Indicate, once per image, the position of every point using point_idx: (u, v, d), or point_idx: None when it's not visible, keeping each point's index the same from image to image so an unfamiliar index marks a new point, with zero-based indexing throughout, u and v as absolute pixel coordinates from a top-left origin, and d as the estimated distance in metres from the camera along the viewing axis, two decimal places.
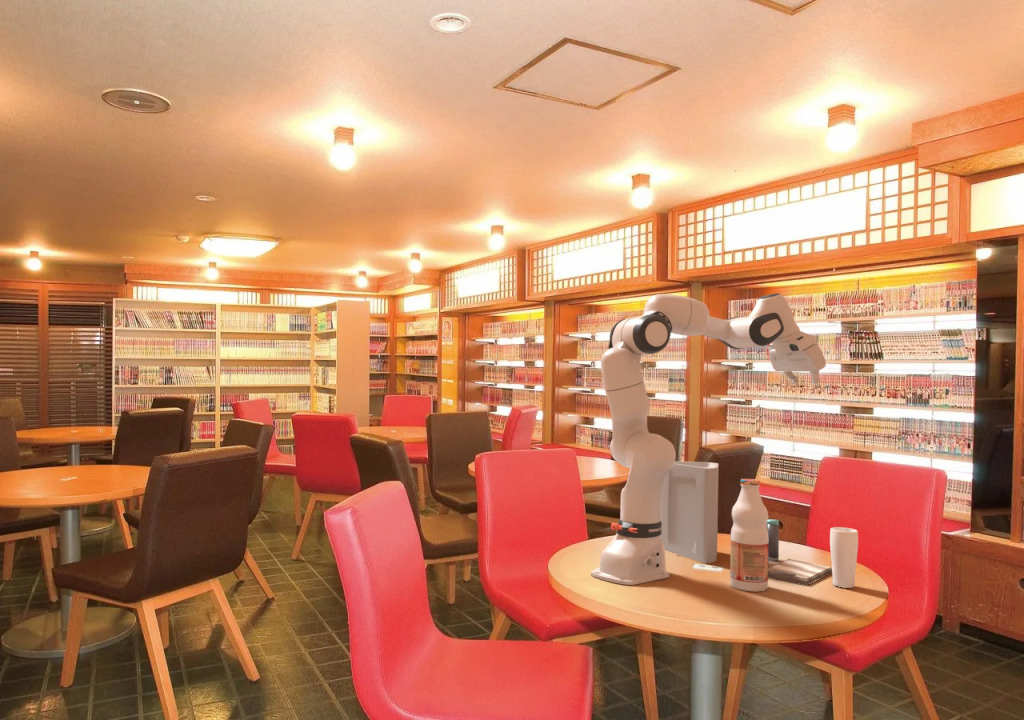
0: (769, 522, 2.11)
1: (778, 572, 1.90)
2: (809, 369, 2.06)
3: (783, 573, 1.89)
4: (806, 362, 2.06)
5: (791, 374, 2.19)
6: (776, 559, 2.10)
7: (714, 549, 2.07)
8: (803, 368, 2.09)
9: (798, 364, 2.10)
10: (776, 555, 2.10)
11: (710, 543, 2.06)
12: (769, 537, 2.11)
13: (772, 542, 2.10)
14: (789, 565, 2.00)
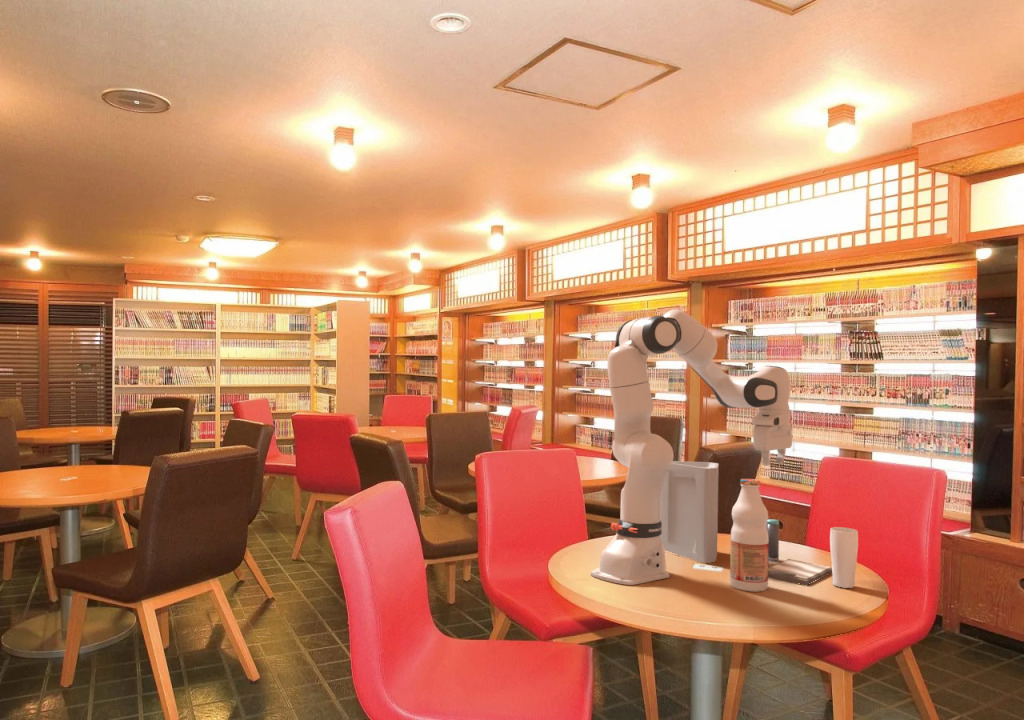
0: (769, 522, 2.11)
1: (778, 572, 1.90)
2: None
3: (783, 573, 1.89)
4: None
5: (781, 454, 2.16)
6: (776, 559, 2.10)
7: (714, 549, 2.07)
8: None
9: None
10: (776, 555, 2.10)
11: (710, 543, 2.06)
12: (769, 537, 2.11)
13: (772, 542, 2.10)
14: (789, 565, 2.00)
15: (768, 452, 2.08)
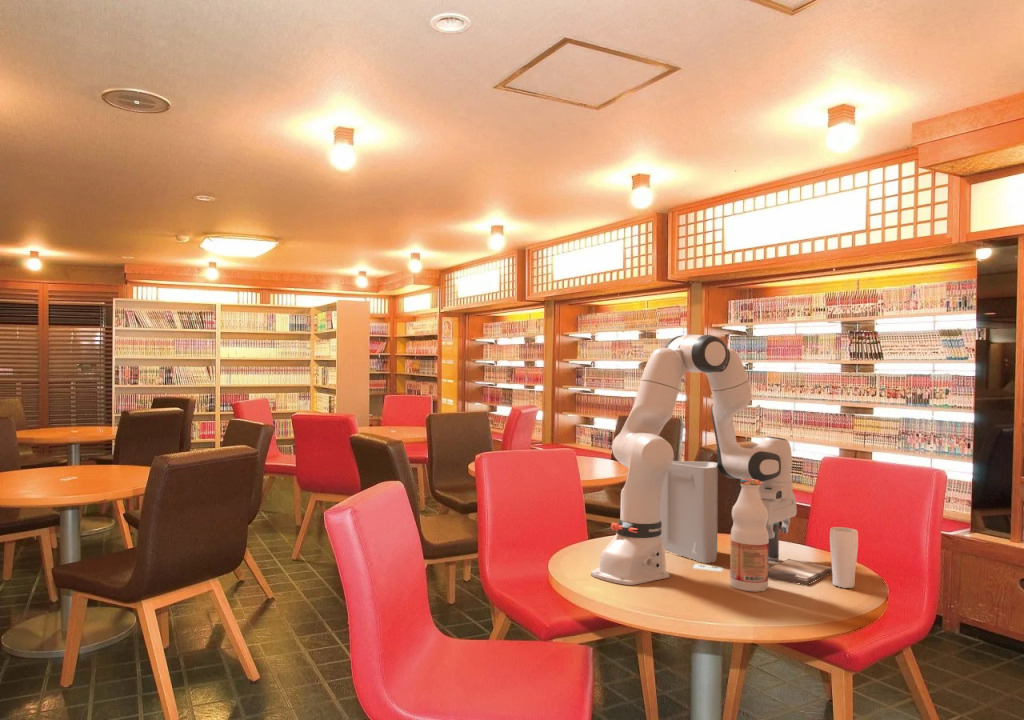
0: None
1: (778, 572, 1.90)
2: None
3: (783, 573, 1.89)
4: None
5: (786, 523, 2.15)
6: (776, 559, 2.10)
7: (714, 549, 2.07)
8: None
9: None
10: (776, 555, 2.10)
11: (710, 542, 2.06)
12: None
13: (772, 542, 2.10)
14: (789, 565, 2.00)
15: (771, 525, 2.07)
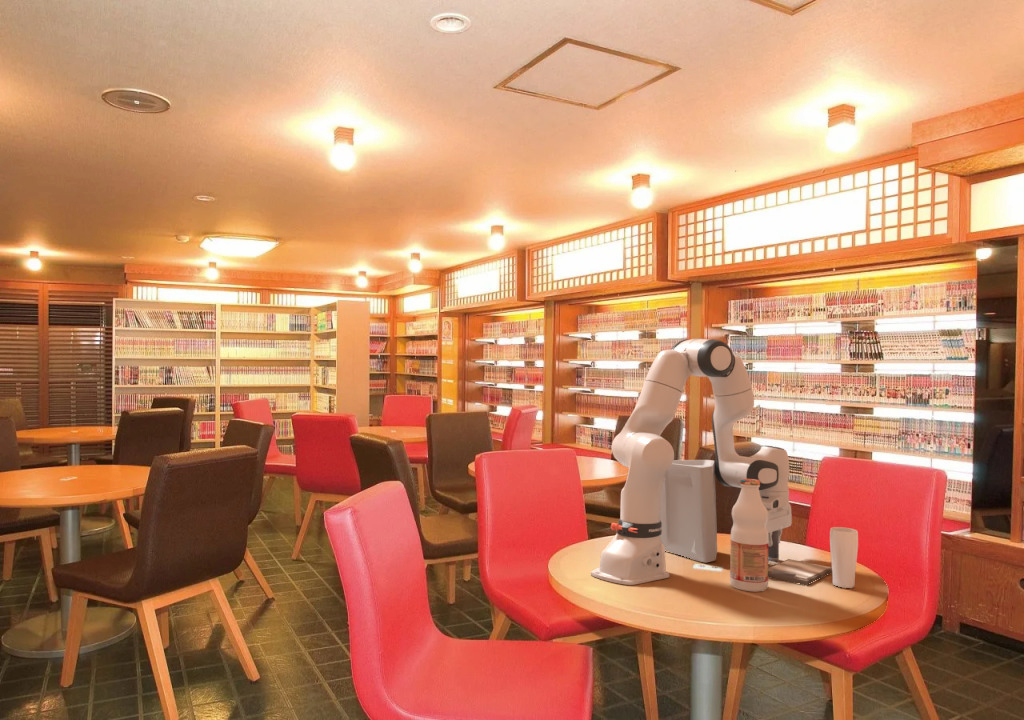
0: None
1: (778, 572, 1.90)
2: None
3: (783, 573, 1.89)
4: None
5: None
6: (776, 559, 2.10)
7: (713, 547, 2.07)
8: None
9: None
10: (776, 555, 2.10)
11: (709, 541, 2.06)
12: None
13: None
14: (789, 565, 2.00)
15: (770, 533, 2.09)
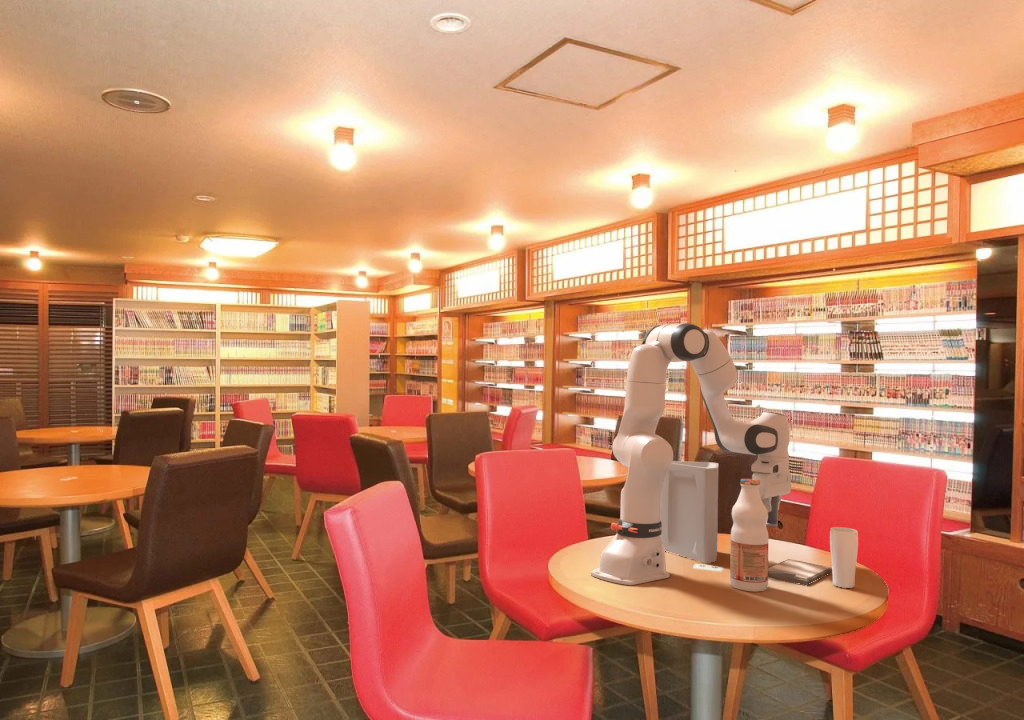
0: None
1: (778, 572, 1.90)
2: None
3: (783, 573, 1.89)
4: None
5: None
6: (775, 525, 2.10)
7: (714, 549, 2.07)
8: None
9: None
10: (775, 521, 2.10)
11: (711, 543, 2.06)
12: None
13: None
14: (789, 565, 2.00)
15: (770, 499, 2.09)
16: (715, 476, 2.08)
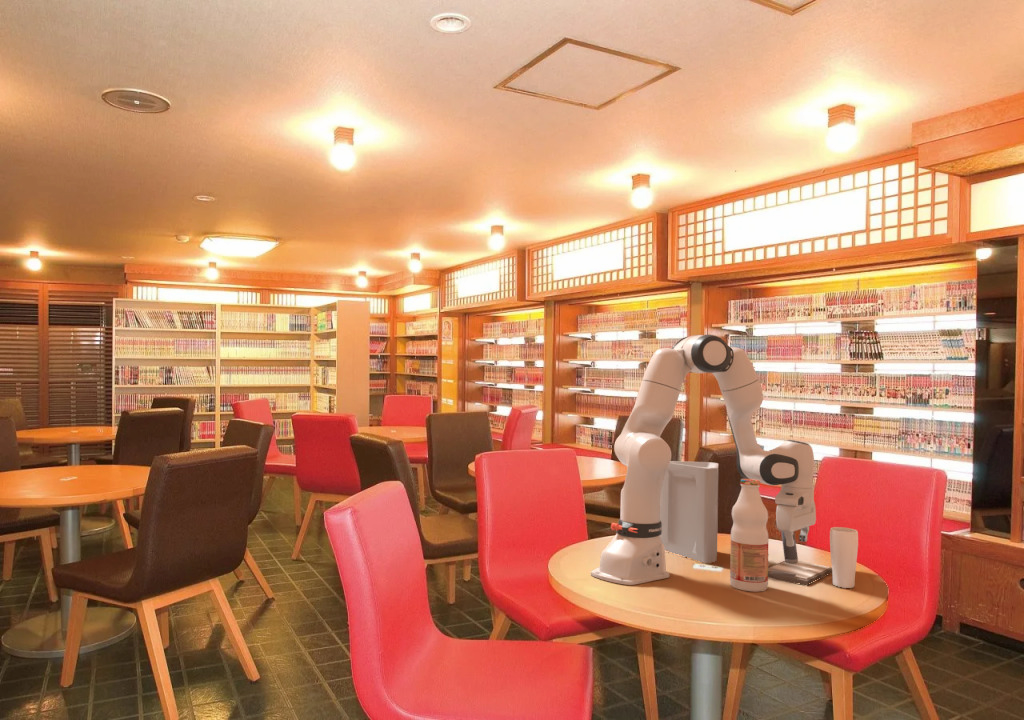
0: None
1: (778, 572, 1.90)
2: None
3: (783, 573, 1.89)
4: None
5: (805, 532, 2.06)
6: (795, 561, 2.02)
7: (714, 549, 2.07)
8: None
9: None
10: (795, 556, 2.02)
11: (711, 543, 2.06)
12: (785, 538, 2.03)
13: None
14: (789, 565, 2.00)
15: (792, 533, 1.98)
16: (715, 476, 2.08)
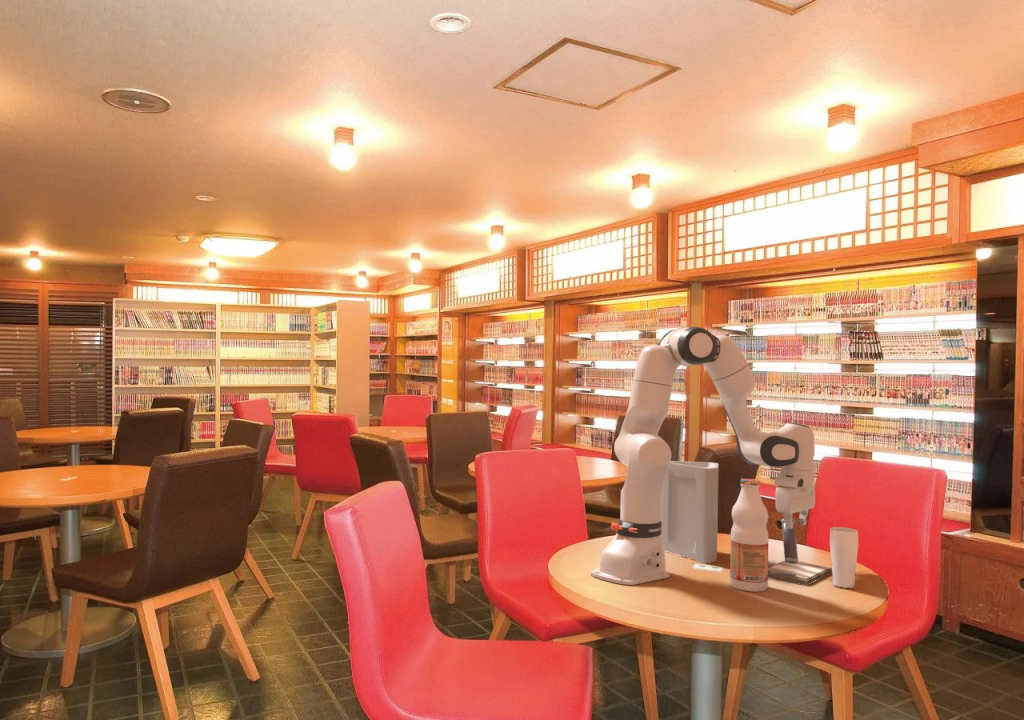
0: (784, 520, 2.05)
1: (778, 572, 1.90)
2: None
3: (783, 573, 1.89)
4: None
5: (803, 515, 2.07)
6: (795, 560, 2.02)
7: (714, 549, 2.07)
8: None
9: None
10: (795, 555, 2.02)
11: (711, 543, 2.06)
12: (785, 536, 2.04)
13: (789, 541, 2.03)
14: (789, 565, 2.00)
15: (791, 515, 1.98)
16: (715, 476, 2.08)
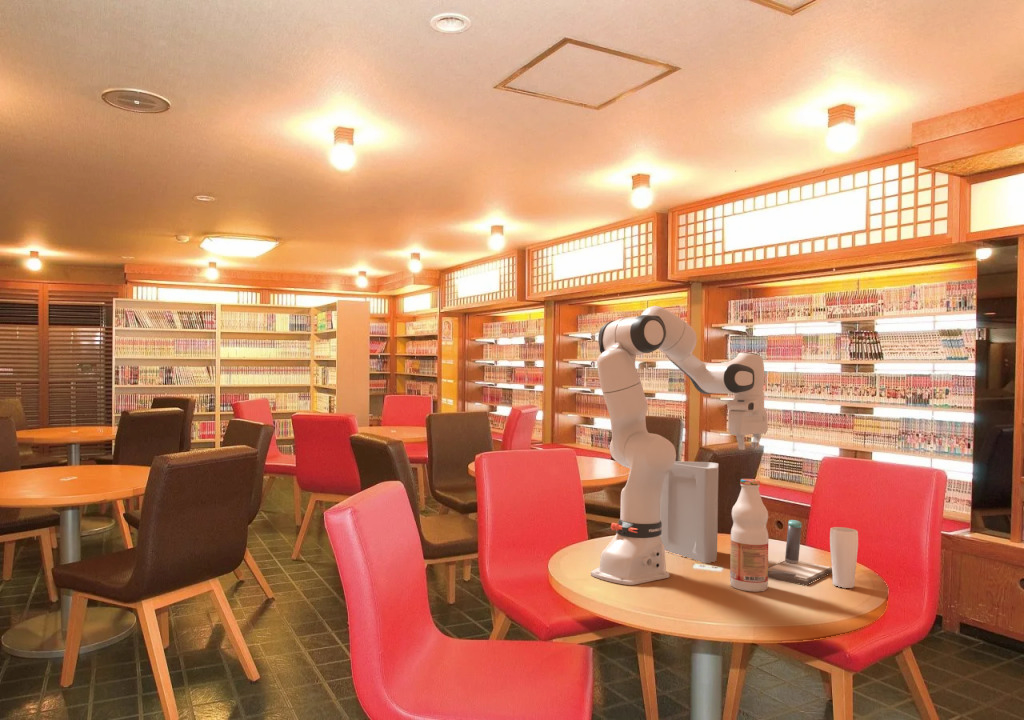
0: (790, 524, 2.01)
1: (778, 572, 1.90)
2: None
3: (783, 573, 1.89)
4: None
5: (757, 439, 2.22)
6: (795, 562, 2.02)
7: (714, 549, 2.07)
8: None
9: None
10: (795, 558, 2.02)
11: (711, 543, 2.06)
12: (789, 539, 2.02)
13: (792, 545, 2.01)
14: (789, 565, 2.00)
15: (743, 436, 2.13)
16: (715, 476, 2.08)
